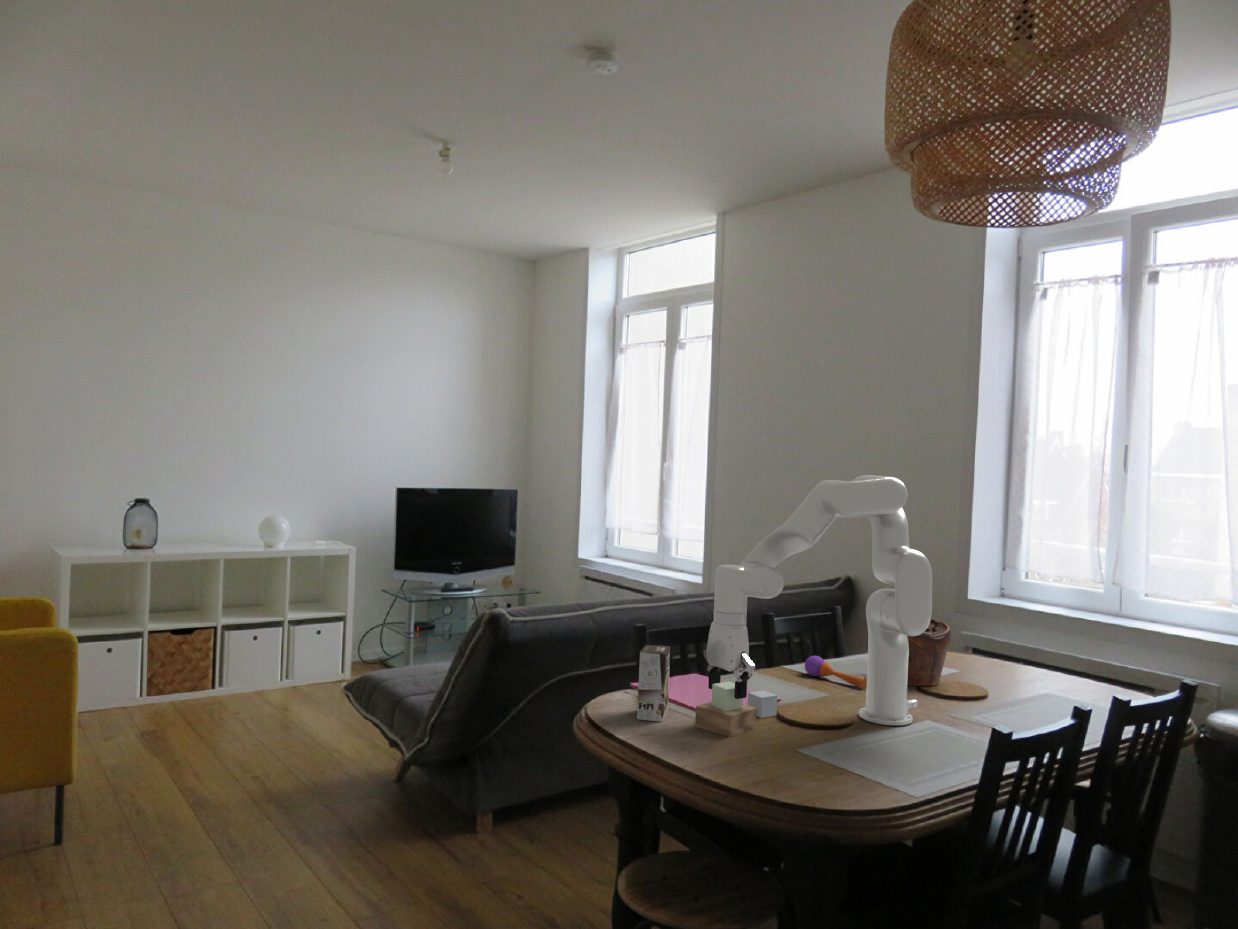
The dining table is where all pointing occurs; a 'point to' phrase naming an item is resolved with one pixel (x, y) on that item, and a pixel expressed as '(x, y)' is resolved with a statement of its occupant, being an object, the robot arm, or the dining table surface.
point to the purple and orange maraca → (831, 672)
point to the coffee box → (653, 683)
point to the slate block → (763, 703)
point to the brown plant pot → (928, 654)
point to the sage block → (725, 696)
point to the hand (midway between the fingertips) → (727, 693)
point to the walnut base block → (726, 719)
